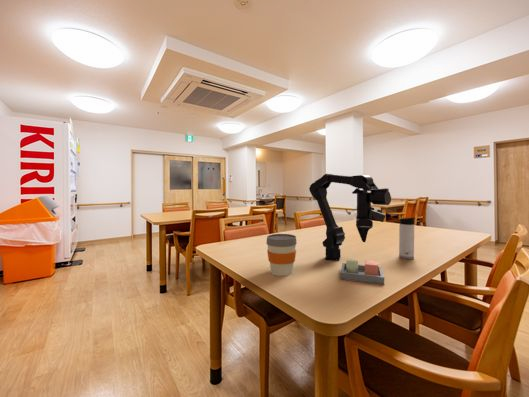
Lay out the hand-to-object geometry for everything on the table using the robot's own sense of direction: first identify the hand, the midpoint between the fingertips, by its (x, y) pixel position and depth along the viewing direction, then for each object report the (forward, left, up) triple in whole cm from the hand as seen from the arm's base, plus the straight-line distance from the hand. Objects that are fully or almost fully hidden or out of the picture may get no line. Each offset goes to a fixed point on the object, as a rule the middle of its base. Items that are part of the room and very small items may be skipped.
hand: (363, 239), depth 104 cm
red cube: (+2, -12, -11) cm, 17 cm away
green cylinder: (-4, -12, -11) cm, 17 cm away
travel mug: (+20, +21, -12) cm, 31 cm away
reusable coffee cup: (-32, -18, -12) cm, 39 cm away
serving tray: (-1, -12, -12) cm, 17 cm away
